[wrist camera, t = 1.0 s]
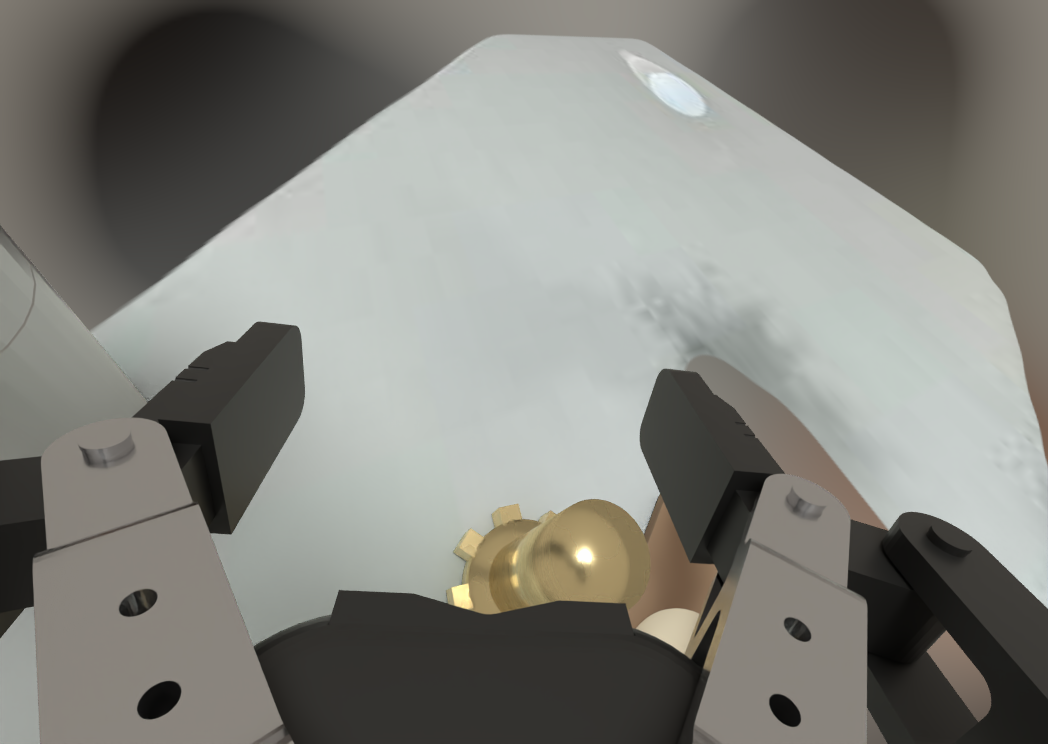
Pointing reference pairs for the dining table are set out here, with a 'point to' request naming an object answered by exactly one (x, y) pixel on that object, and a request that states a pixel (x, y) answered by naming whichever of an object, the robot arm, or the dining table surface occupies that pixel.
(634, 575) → the cylinder
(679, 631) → the gear board
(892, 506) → the dining table surface
